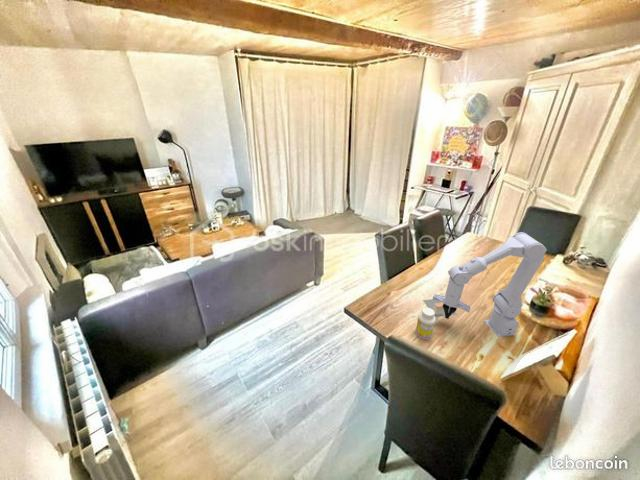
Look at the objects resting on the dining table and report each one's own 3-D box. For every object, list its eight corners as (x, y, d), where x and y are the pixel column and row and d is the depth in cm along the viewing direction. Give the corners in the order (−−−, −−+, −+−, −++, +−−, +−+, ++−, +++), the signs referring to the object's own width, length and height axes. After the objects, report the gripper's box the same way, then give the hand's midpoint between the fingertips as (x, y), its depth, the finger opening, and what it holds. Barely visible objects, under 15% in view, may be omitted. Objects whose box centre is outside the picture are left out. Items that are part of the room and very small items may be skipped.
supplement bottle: (418, 325, 110) (423, 303, 105) (433, 332, 106) (439, 310, 101) (413, 335, 106) (417, 312, 100) (428, 342, 102) (434, 319, 96)
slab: (443, 314, 116) (445, 306, 113) (435, 315, 115) (437, 306, 113) (440, 310, 118) (442, 302, 115) (432, 311, 117) (434, 303, 115)
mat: (457, 315, 115) (457, 314, 115) (435, 317, 114) (435, 317, 114) (442, 298, 126) (443, 298, 126) (422, 300, 125) (422, 300, 125)
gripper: (474, 294, 102) (466, 318, 108) (437, 282, 110) (432, 305, 116) (472, 303, 97) (464, 328, 103) (433, 290, 105) (428, 314, 111)
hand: (447, 317), depth 109 cm, fingers closed
